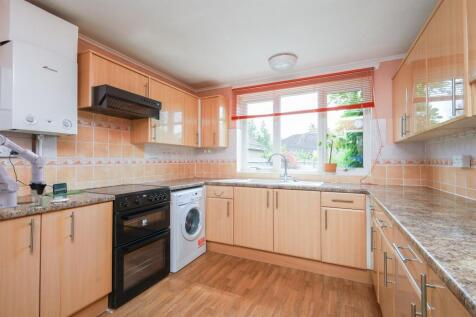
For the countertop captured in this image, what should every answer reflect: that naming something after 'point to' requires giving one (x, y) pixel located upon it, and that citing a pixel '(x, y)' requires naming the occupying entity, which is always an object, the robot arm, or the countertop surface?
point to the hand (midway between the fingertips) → (37, 194)
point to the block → (43, 201)
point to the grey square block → (35, 192)
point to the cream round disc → (58, 200)
